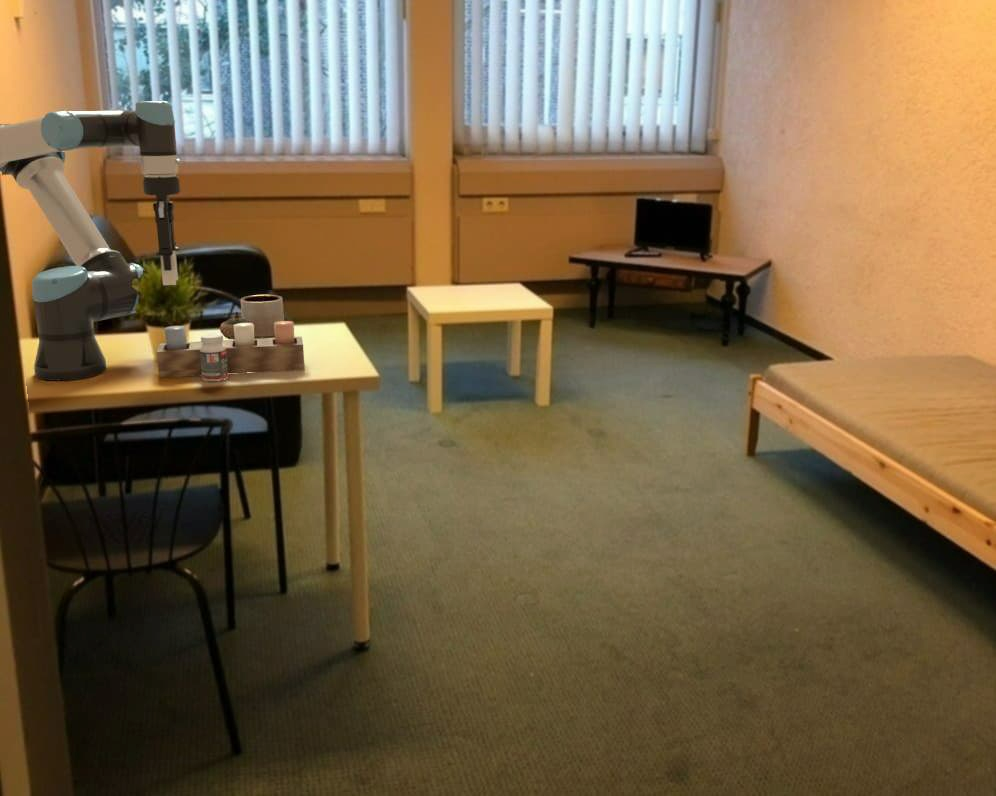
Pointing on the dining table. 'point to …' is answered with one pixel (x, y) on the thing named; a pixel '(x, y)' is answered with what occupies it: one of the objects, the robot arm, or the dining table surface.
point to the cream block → (244, 334)
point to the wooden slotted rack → (233, 358)
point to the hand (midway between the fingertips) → (170, 282)
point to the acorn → (232, 326)
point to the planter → (262, 313)
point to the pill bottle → (213, 357)
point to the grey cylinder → (175, 338)
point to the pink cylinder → (284, 332)
